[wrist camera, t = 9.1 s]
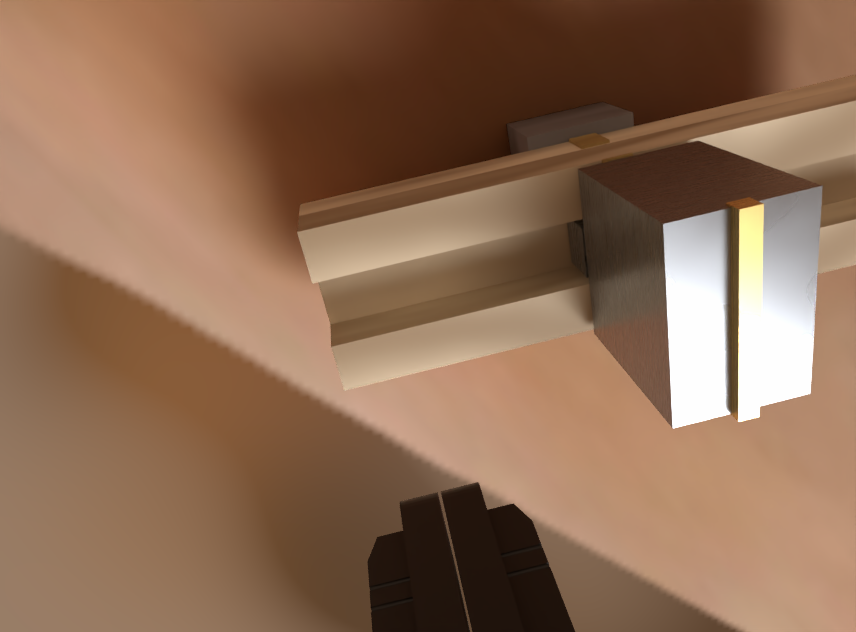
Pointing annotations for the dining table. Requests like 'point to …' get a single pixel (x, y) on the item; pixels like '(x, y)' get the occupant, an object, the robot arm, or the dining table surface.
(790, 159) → the beam
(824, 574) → the dining table surface
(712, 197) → the block
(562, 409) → the dining table surface
